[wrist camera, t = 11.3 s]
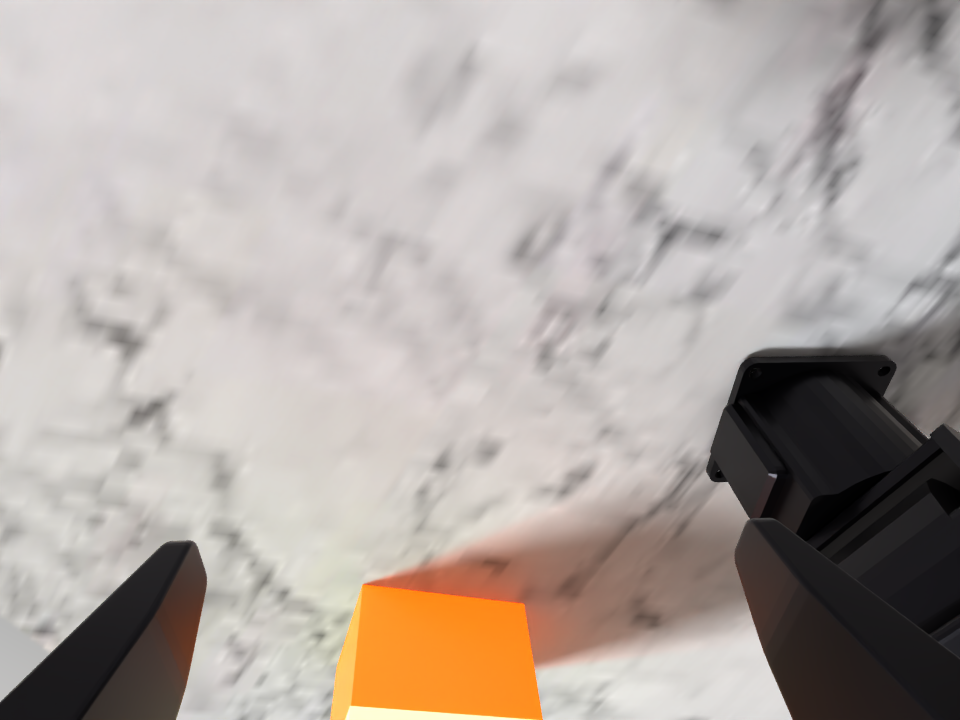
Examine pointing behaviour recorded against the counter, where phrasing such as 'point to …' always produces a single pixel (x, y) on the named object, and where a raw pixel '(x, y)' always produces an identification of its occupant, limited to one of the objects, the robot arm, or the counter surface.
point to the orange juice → (435, 659)
